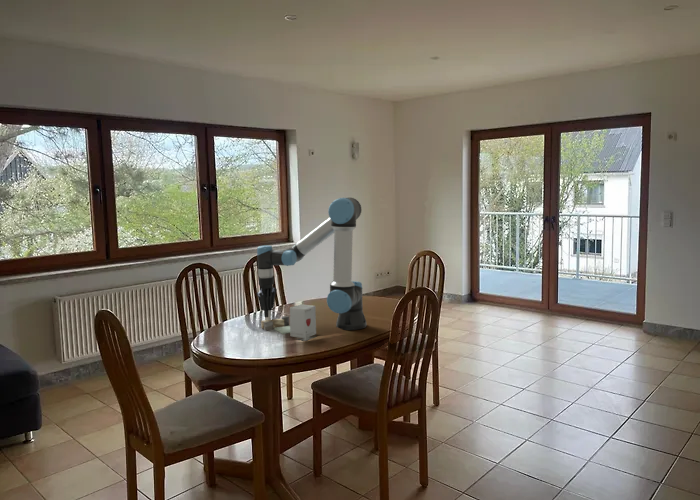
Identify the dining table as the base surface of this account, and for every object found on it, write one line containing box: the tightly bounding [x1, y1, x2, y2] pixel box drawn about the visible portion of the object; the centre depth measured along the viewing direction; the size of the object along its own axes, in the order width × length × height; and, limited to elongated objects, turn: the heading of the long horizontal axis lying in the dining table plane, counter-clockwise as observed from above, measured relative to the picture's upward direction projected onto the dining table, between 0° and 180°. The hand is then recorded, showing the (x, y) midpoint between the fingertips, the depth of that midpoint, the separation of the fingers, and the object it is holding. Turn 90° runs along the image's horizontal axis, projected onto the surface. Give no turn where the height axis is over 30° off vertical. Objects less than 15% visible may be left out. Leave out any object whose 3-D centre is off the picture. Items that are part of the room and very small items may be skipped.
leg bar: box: [260, 315, 290, 330], centre depth 271 cm, size 14×4×4 cm, turn 111°
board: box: [263, 321, 274, 331], centre depth 269 cm, size 28×22×5 cm
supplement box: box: [289, 303, 317, 342], centre depth 253 cm, size 9×9×15 cm
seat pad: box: [273, 325, 290, 335], centre depth 264 cm, size 11×11×1 cm
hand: (268, 323), depth 272 cm, fingers closed
